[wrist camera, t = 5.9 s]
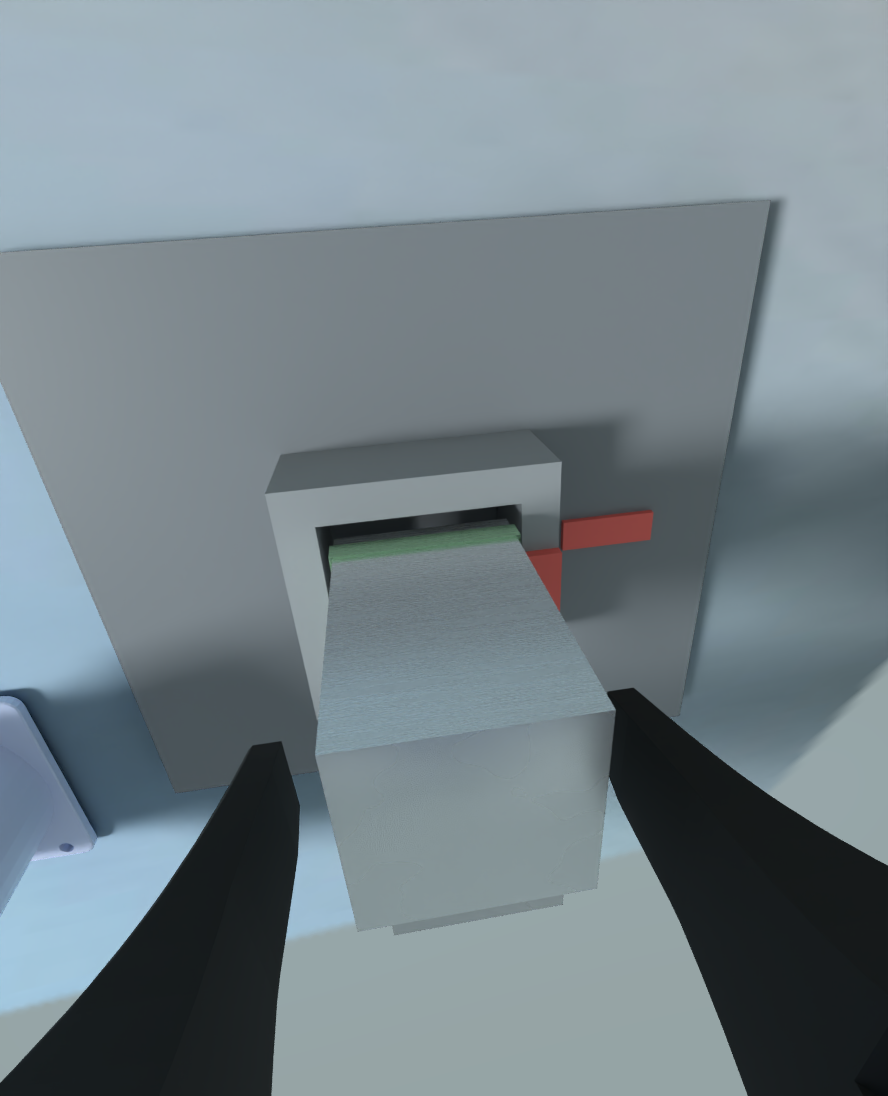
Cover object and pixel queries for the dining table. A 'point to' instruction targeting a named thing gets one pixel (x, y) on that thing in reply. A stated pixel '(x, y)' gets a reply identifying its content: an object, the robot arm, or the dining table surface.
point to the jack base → (377, 437)
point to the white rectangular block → (457, 730)
